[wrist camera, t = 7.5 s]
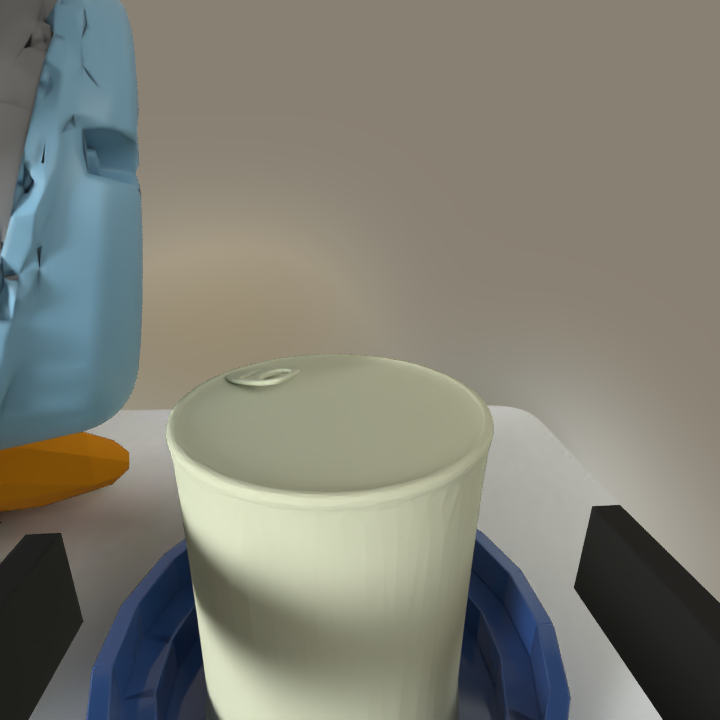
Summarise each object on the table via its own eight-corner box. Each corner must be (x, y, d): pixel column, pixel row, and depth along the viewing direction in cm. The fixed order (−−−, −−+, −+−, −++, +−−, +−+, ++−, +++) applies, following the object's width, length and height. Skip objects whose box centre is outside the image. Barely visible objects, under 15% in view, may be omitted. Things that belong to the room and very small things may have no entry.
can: (307, 554, 23) (301, 328, 19) (487, 639, 18) (528, 369, 14) (148, 727, 15) (80, 408, 11) (390, 940, 11) (419, 544, 7)
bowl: (4, 773, 14) (-27, 695, 13) (296, 508, 27) (293, 456, 25) (479, 1349, 7) (508, 1292, 6) (570, 620, 20) (585, 556, 18)
